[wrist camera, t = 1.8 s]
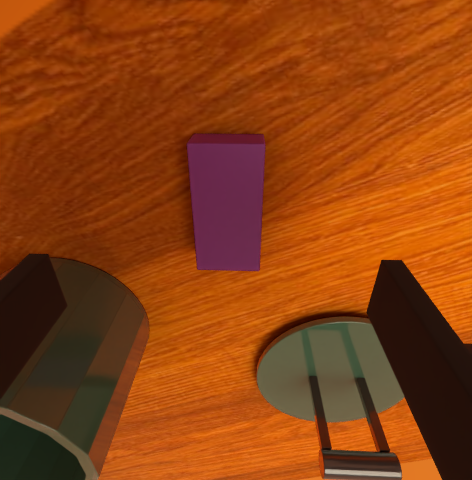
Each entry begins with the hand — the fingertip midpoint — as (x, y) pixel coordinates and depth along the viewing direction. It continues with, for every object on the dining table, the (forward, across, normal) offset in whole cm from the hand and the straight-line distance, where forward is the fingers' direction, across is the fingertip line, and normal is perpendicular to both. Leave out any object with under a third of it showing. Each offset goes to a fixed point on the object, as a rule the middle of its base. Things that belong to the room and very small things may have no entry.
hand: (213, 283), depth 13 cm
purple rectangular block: (+8, 0, 0) cm, 8 cm away
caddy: (+8, -13, -11) cm, 19 cm away
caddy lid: (+8, +9, -16) cm, 20 cm away
